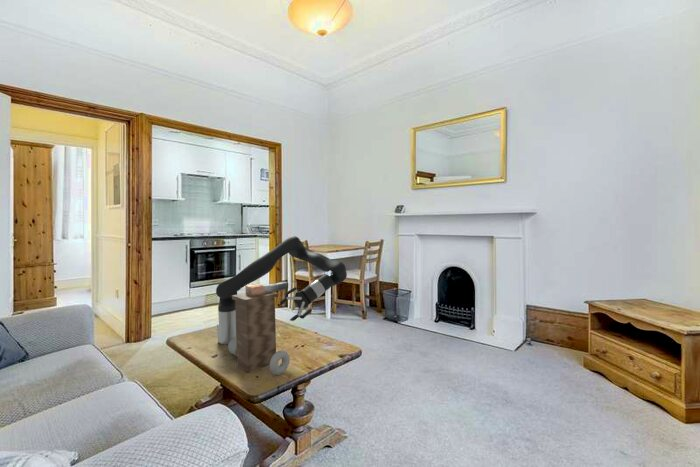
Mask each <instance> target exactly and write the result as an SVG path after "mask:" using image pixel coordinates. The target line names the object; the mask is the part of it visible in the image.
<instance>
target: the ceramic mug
mask: <svg viewBox="0 0 700 467" xmlns="http://www.w3.org/2000/svg"><path fill="white" fill-rule="evenodd" d="M227 347H228V348H227V349H228V352H230V353H231V354H232V355H234V356H235V357H237V344H236V338H234V339H232V340H231V341H230V342H229V344H227Z"/></svg>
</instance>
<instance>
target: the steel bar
mask: <svg viewBox="0 0 700 467" xmlns="http://www.w3.org/2000/svg"><path fill="white" fill-rule="evenodd" d="M252 284H253V285H252ZM252 284H247V285H246V286H244V287H245V288H244V289H245V293H246V295H249V296H252V297H253V296H258V295H263V294H265V293H269V292H278V291H282V290H284V291H285V290H289V282H288V281H282V282H277V283H270V284H259V283H252Z"/></svg>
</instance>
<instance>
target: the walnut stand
mask: <svg viewBox="0 0 700 467" xmlns="http://www.w3.org/2000/svg"><path fill="white" fill-rule="evenodd" d="M276 298H279V294H278V292H276V291H274V292H269V293H265V294H263V295H258V296H253V297H252V296H249V295H246V292H244V293H237V295H232V299H233V300H235V309H236V344H237V356H236V367H238V368H240V369H241V370H243V371H244V372H246V373H247V374H248V373H253V372H255V371H258V370H260V369H262V368H265V367H268V366H270V361H271V358H272V356H273V355H274V354H275V353H276V352H277V336H276V334H277V330H276V327H277V326H276Z"/></svg>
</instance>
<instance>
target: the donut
mask: <svg viewBox="0 0 700 467" xmlns="http://www.w3.org/2000/svg"><path fill="white" fill-rule="evenodd" d="M290 359H291V358H290V354H289V352H287V351H286V350H283V349H282V350H281V349H280V350H276V353H275V354H274V355H273V356H272V358H271V361H270V365H269V369H270V372H271V373H272V374H273V375H275V376H276V375H282V374H283V373H285V372H286V371H287V369H288V367H289V366H290V361H291V360H290ZM280 360H281V362H280V364H279V361H280Z"/></svg>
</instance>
